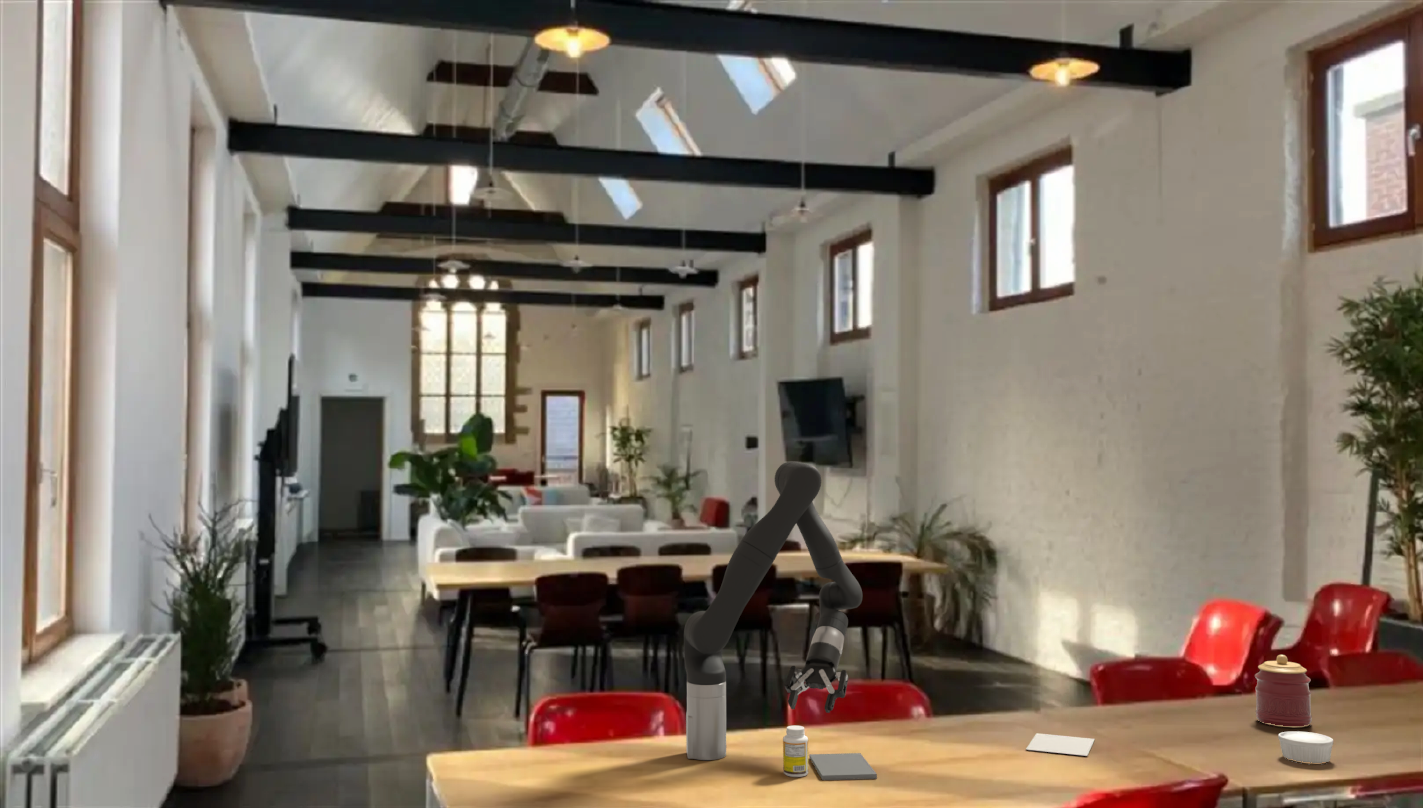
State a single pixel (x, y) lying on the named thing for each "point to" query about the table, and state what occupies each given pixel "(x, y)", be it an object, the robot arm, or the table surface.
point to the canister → (1283, 693)
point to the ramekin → (1306, 746)
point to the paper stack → (1061, 744)
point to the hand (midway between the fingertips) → (809, 709)
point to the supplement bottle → (795, 752)
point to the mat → (842, 766)
